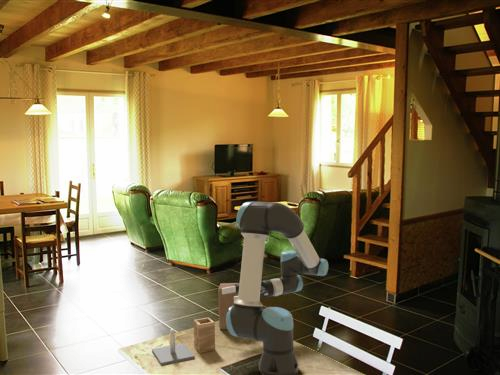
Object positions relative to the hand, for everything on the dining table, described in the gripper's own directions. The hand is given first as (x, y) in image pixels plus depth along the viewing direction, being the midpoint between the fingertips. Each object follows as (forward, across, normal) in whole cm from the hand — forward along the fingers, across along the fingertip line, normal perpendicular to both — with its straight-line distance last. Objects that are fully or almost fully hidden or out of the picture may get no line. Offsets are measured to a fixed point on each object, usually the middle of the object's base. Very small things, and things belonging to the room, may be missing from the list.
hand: (227, 295), depth 211 cm
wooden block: (-8, +18, -22) cm, 29 cm away
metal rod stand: (+26, -1, -21) cm, 33 cm away
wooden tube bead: (+12, -1, -21) cm, 24 cm away
